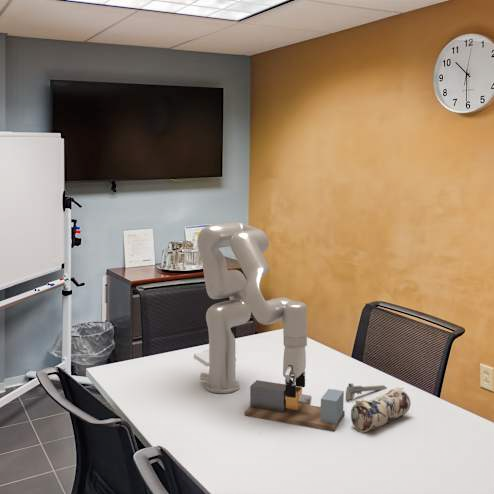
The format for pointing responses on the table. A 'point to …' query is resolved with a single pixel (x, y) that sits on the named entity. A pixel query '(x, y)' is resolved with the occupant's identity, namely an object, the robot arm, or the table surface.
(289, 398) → the tube
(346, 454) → the table surface
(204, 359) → the mounting plate
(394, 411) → the pencil case
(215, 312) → the robot arm
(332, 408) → the socket
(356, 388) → the caliper
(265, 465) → the table surface
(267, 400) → the sleeve
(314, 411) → the board
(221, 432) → the table surface
